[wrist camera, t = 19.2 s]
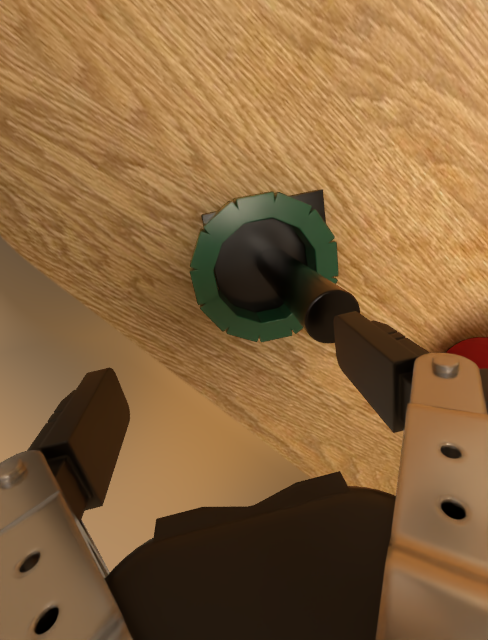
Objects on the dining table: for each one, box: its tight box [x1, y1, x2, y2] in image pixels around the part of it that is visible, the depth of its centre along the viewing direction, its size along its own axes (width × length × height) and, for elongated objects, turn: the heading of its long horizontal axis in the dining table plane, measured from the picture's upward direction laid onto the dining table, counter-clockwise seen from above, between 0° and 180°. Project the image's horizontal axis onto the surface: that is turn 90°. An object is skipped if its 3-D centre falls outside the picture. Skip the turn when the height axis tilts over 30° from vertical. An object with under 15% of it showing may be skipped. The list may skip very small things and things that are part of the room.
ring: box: [190, 192, 338, 342], centre depth 23 cm, size 10×10×2 cm
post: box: [202, 190, 360, 343], centre depth 19 cm, size 9×9×13 cm
